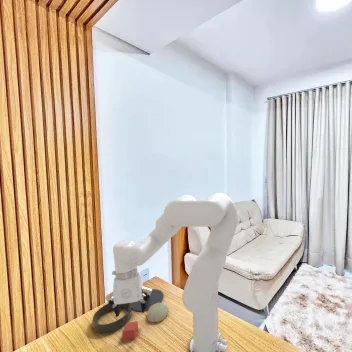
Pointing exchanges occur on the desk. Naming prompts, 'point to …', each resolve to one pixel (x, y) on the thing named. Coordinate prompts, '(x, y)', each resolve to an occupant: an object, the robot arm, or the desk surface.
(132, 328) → the block
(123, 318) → the pot
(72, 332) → the desk surface
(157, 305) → the sea urchin shell
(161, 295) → the pot lid
